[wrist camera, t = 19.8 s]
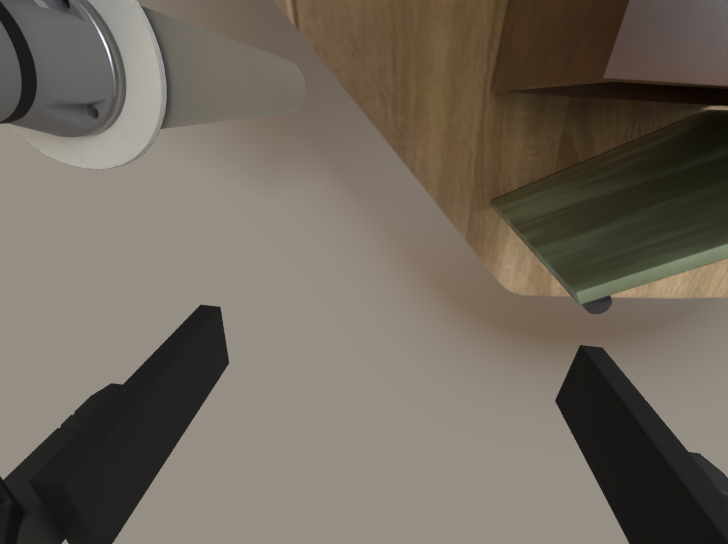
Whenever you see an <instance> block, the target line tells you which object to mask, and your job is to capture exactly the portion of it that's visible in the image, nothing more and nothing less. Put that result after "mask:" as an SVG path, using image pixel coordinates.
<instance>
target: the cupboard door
mask: <svg viewBox="0 0 728 544" xmlns="http://www.w3.org/2000/svg"><path fill="white" fill-rule="evenodd" d="M491 203H492V205H493V208H494V209H495V210H496V211H497V212H498V213H499V215H500V216H501V217H502V218H503V219H504V220H505V221H506V223H507V224H508V225H509V226H510V227H511V228H512V229H513V230H514V232H515V233H516V234H517V235H518V236H519V237H520V238H521V240H522V241H523V242H524V243H525V244H526V245H527V246H528V247H529V249H530V250H531V251H532V252H533V253H534V254H535V255H536V257H537V258H538V259H539V260H540V261H541V262H542V263H543V264H544V266H545V267H546V268H547V269H548V270H549V271H550V272H551V274H552V275H553V276H554V277H555V278H556V279H557V280H558V281H559V283H560V284H561V285H562V286H563V287H564V288H565V289H566V291H567V292H568V293H569V294H570V295H571V296H572V297H573V298H574V300H575V301H576V302H577V303H578V304H579V305H580V304H581V305H582V306H583V307H584V308H585V309H586V310H587V311H588V312H589V313H591V314H601V313H603V312H605V311H607V310H608V309H609V308H610V306H611V304H612V299H611V295H612V294H615V293H618V292H622V291H625V290H628V289H631V288H635V287H638V286H641V285H644V284H647V283H651V282H654V281H657V280H660V279H663V278H667V277H670V276H673V275H676V274H679V273H683V272H686V271H689V270H692V269H696V268H699V267H702V266H705V265H708V264H712V263H715V262H718V261H721V260H724V259H728V110H706V111H703V112H701V113H699V114H696V115H694V116H691V117H689V118H687V119H684V120H682V121H680V122H677V123H675V124H672V125H670V126H668V127H665V128H663V129H660V130H658V131H656V132H653V133H651V134H649V135H646V136H644V137H641V138H639V139H637V140H634V141H632V142H629V143H627V144H625V145H622V146H620V147H617V148H615V149H613V150H610V151H608V152H606V153H603V154H601V155H598V156H596V157H594V158H591V159H589V160H586V161H584V162H582V163H579V164H577V165H575V166H572V167H570V168H567V169H565V170H563V171H560V172H558V173H555V174H553V175H551V176H548V177H546V178H544V179H541V180H539V181H536V182H534V183H532V184H529V185H527V186H524V187H522V188H520V189H517V190H515V191H512V192H510V193H508V194H505V195H503V196H501V197H498V198H496V199H493V200H491Z"/></svg>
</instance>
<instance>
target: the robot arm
mask: <svg viewBox="0 0 728 544" xmlns="http://www.w3.org/2000/svg"><path fill="white" fill-rule="evenodd" d="M125 97H126V74H125V68H124V64H123V60H122V56H121V53H120V50H119V48H118V45H117V43H116V41H115V39H114V37H113V35H112V33H111V31H110V29H109V27H108V26H107V24H106V23H105V21H104V20H103V18H102V17H101V15H100V14H99V13H98V11H97V10H96V9H95V8H94V7H93V5H92V4H91V3H90V2H89V1H88V0H0V124H2V123H8V124H12V125H16V126H20V127H24V128H28V129H32V130H36V131H40V132H44V133H48V134H52V135H56V136H60V137H82V136H91V135H96V134H99V133H101V132H103V131H105V130H107V129H108V128H110V127H111V126H112V125H113V124H114V123H115V121H116V120H117V119H118V117H119V116H120V114H121V111H122V109H123V106H124V103H125ZM228 364H229V359H228V352H227V346H226V340H225V334H224V327H223V321H222V314H221V309H220V307H216V306H206V305H200V306H199V307H198V308H197V309H196V310H195V311H194V312H193V313H192V314H191V315H190V316H189V317H188V319H186V320H185V321H184V322H183V324H182V325H180V327H179V328H178V329H177V330H176V331H175V332H174V333H173V334H172V335H171V336H170V337H169V338H168V339H167V340H166V341H165V342H164V343H163V344H162V345H161V346H160V347H159V348H158V349H157V350H156V351H155V352H154V353H153V354H152V355H151V356H150V357H149V358H148V359H147V361H145V362H144V364H143V365H142V366H141V367H140V368H139V369H138V370H137V371H136V372H135V373H134V374H133V375H132V376H131V377H130V378H129V379H128V380H127V381H126V382H125V383H124V384H123V385H121V384H113V383H112V384H110V385H108V386H106V387H105V388H103V389H102V390H100V391H98V392H97V393H95V394H93V395H92V396H90V397H89V399H87V400H86V401H85V402H84V403H83V404H82V405H81V406H80V407H79V408H78V409H77V410H76V411H75V413H74V415H71V416H70V417H69V418H68V419H66V420H65V422H63V423H62V424H61V427H60V428H57V429H56V430H55V431H54V432H53V433H52V434H51V435H50V436H49V437H48V438H47V439H46V440H45V441H44V442H43V443H42V444H40V445H39V446H38V447H37V448H36V449H35V450H34V451H33V452H32V453H31V454H30V455H29V456H28V457H27V458H26V459H25V460H24V461H23V462H22V463H21V464H20V465H19V466H17V467H16V469H14V470H13V471H12V472H11V473H10V474H9V475H8V476H7V477H6V478H5V479H4V480H3V479H2V478H1V477H0V544H61V543H62V542H63V541H64V540H65V539H66V540H67V542H68V543H69V544H112V543H113V542H114V540H115V539H116V537H117V535H118V534H119V532H120V531H121V529H122V528H123V526H124V525H125V523H126V521H127V520H128V519H129V517H130V515H131V514H132V512H133V511H134V509H135V508H136V506H137V505H138V503H139V501H140V500H141V498H142V497H143V495H144V494H145V492H146V491H147V489H148V488H149V486H150V485H151V483H152V481H153V480H154V478H155V477H156V475H157V474H158V472H159V471H160V469H161V468H162V466H163V464H164V463H165V461H166V460H167V458H168V457H169V455H170V453H171V452H172V451H173V449H174V447H175V446H176V444H177V443H178V441H179V440H180V438H181V437H182V435H183V433H184V432H185V431H186V429H187V427H188V426H189V424H190V423H191V421H192V419H193V418H194V417H195V415H196V414H197V412H198V410H199V409H200V407H201V406H202V404H203V403H204V401H205V400H206V398H207V397H208V395H209V393H210V392H211V390H212V389H213V387H214V386H215V384H216V383H217V381H218V380H219V378H220V376H221V375H222V373H223V372H224V370H225V368H226V367H227V366H228ZM555 401H556V403H557V405H558V407H559V409H560V411H561V413H562V415H563V417H564V419H565V421H566V423H567V425H568V426H569V428H570V430H571V432H572V434H573V436H574V438H575V440H576V442H577V444H578V445H579V448H580V450H581V451H582V453H583V455H584V457H585V459H586V461H587V463H588V465H589V467H590V469H591V471H592V472H593V474H594V476H595V478H596V480H597V482H598V484H599V486H600V488H601V490H602V492H603V494H604V496H605V497H606V499H607V501H608V503H609V505H610V507H611V509H612V511H613V513H614V515H615V517H616V519H617V521H618V523H619V524H620V526H621V528H622V530H623V532H624V534H625V536H626V538H627V540H628V542H629V544H728V478H727V477H726V476H725V474H724V473H723V472H721V471H720V470H719V469H718V468H716V467H715V466H714V465H713V464H711V463H710V462H709V461H708V460H707V459H705V458H704V457H703V456H701V455H700V454H699V453H691V452H688V451H687V450H686V449H685V447H684V446H683V445H682V444H681V442H680V441H679V440H678V439H677V437H676V436H675V435H674V434H673V433H672V431H671V430H670V429H669V428H668V427H667V425H666V424H665V423H664V422H663V421H662V419H661V418H660V417H659V416H658V414H657V413H656V412H655V411H654V410H653V408H652V407H651V406H650V405H649V404H648V402H647V401H646V400H645V399H644V397H643V396H642V395H641V394H640V393H639V391H638V390H637V389H636V388H635V387H634V385H633V384H632V383H631V382H630V380H629V379H628V378H627V377H626V376H625V374H624V373H623V372H622V371H621V370H620V369H619V367H618V366H617V365H616V363H615V362H614V361H613V360H612V359H611V357H610V356H609V355H608V354H607V353H606V351H605V350H604V349H603V348H601V347H591V346H582V345H580V347H579V349H578V352H577V353H576V356H575V358H574V360H573V362H572V365H571V367H570V369H569V371H568V374H567V376H566V378H565V380H564V382H563V384H562V387H561V389H560V391H559V394H558V395H557V398H556V400H555Z"/></svg>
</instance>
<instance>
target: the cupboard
mask: <svg viewBox="0 0 728 544" xmlns="http://www.w3.org/2000/svg"><path fill="white" fill-rule="evenodd" d="M490 91H497V92H512V93H526V94H541V95H555V96H570V97H585V98H599V99H614V100H629V101H643V102H658V103H672V104H687V105H702V106H728V0H508V5H507V9H506V14H505V19H504V24H503V29H502V34H501V39H500V43H499V48H498V53H497V58H496V63H495V68H494V73H493V77H492V82H491V87H490Z"/></svg>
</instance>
